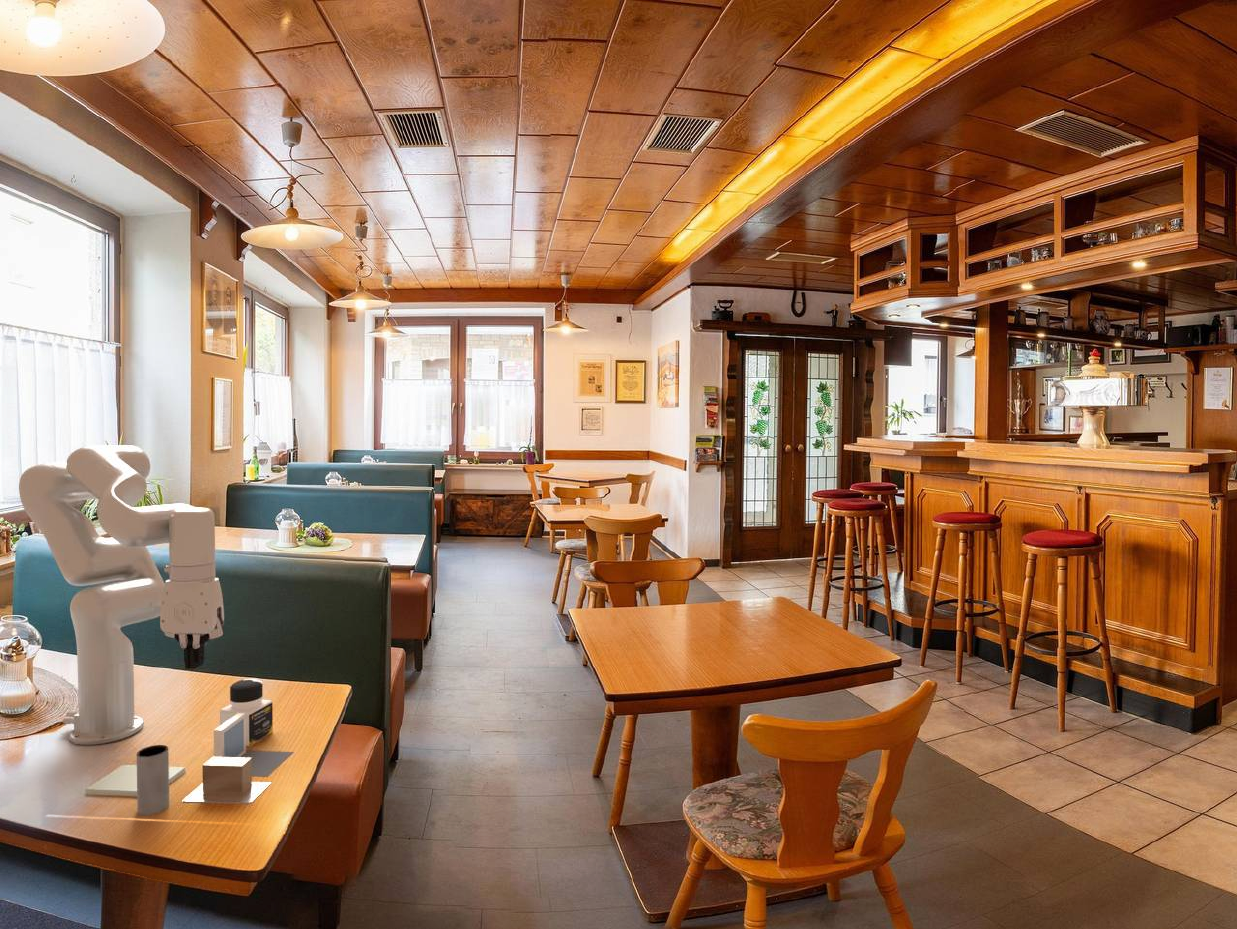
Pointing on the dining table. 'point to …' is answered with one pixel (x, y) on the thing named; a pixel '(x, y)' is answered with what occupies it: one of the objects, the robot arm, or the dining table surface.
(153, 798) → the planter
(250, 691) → the medicine bottle
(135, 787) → the board
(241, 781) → the float
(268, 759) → the mat
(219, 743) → the tile
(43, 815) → the dining table surface
